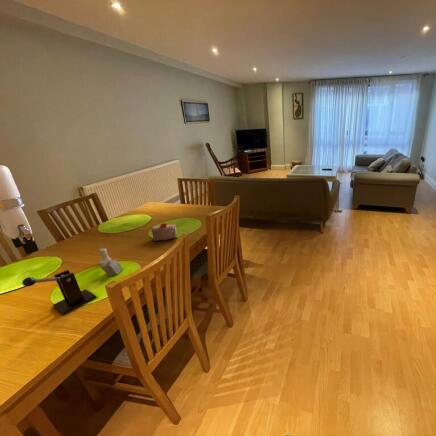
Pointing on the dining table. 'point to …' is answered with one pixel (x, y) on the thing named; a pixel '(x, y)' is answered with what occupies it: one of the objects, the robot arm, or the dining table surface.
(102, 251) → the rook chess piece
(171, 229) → the food item
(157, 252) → the dining table surface
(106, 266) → the mineral specimen
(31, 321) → the dining table surface
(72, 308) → the stand
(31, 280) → the switch lever
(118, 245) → the dining table surface
